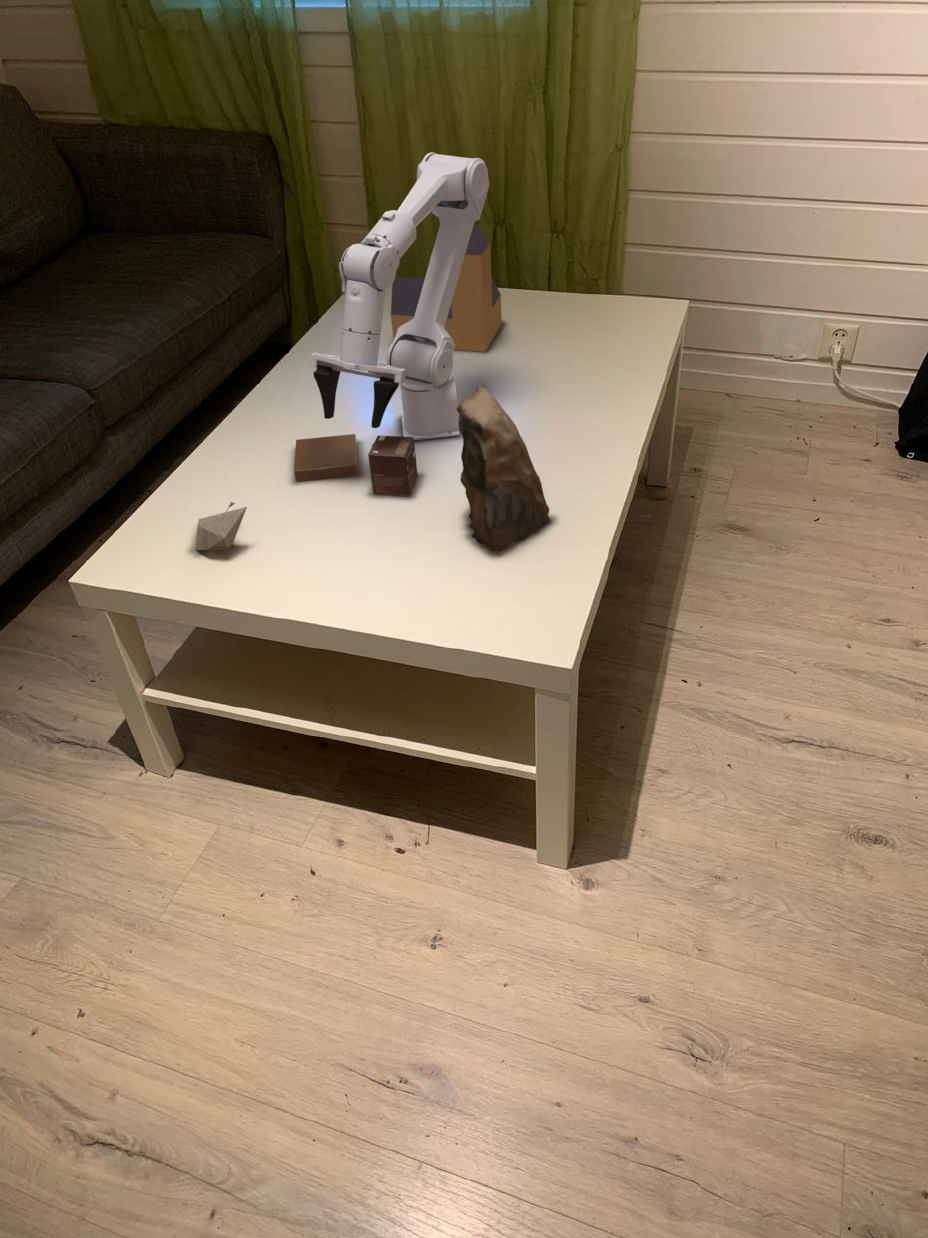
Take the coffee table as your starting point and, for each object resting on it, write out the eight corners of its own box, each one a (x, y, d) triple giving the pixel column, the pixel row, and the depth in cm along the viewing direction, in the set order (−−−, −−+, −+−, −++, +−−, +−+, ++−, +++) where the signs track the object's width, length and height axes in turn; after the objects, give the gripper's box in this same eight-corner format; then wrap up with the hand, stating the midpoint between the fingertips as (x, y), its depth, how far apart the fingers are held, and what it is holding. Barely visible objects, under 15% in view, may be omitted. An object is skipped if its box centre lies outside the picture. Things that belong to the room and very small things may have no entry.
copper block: (356, 443, 170) (355, 433, 169) (357, 475, 163) (356, 465, 162) (297, 449, 170) (295, 439, 169) (296, 481, 162) (294, 471, 161)
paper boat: (167, 545, 149) (193, 498, 154) (201, 570, 152) (225, 524, 157) (213, 526, 141) (238, 477, 146) (247, 553, 144) (271, 504, 149)
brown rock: (493, 559, 144) (487, 436, 131) (434, 524, 151) (424, 405, 138) (553, 521, 150) (554, 401, 137) (494, 489, 157) (489, 372, 144)
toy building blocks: (485, 351, 194) (479, 220, 178) (393, 344, 198) (380, 215, 182) (501, 324, 203) (497, 196, 187) (413, 317, 207) (402, 192, 191)
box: (409, 497, 157) (405, 456, 152) (372, 494, 158) (366, 454, 154) (418, 476, 162) (414, 436, 157) (382, 473, 163) (377, 434, 158)
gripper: (305, 324, 146) (297, 417, 151) (399, 341, 144) (388, 435, 148) (323, 321, 153) (315, 410, 158) (414, 337, 150) (403, 428, 155)
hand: (352, 422), depth 153 cm, fingers open, 7 cm apart
